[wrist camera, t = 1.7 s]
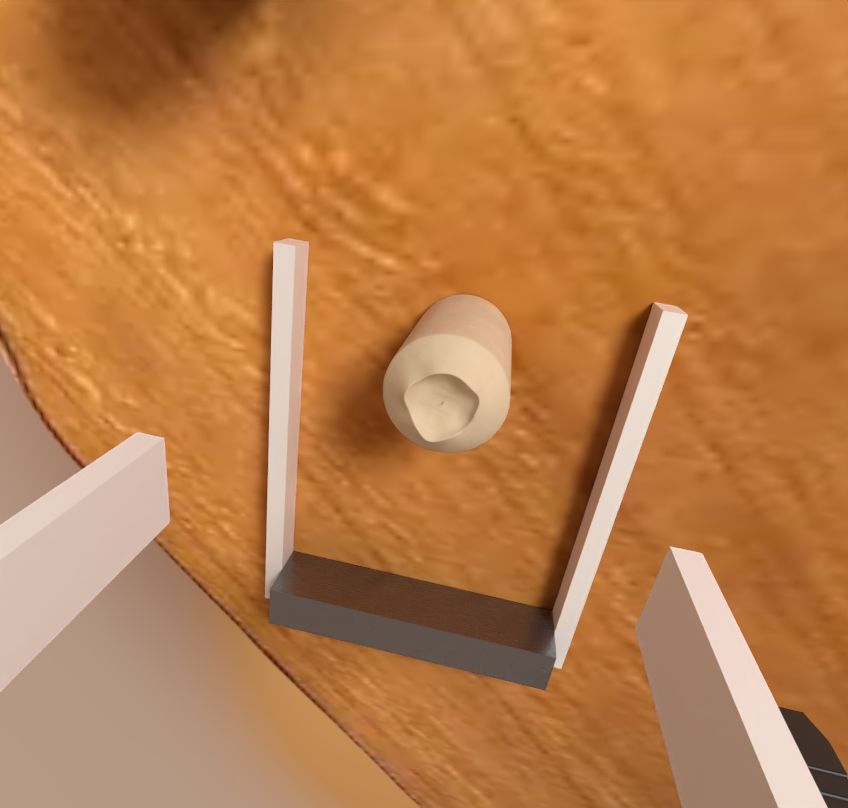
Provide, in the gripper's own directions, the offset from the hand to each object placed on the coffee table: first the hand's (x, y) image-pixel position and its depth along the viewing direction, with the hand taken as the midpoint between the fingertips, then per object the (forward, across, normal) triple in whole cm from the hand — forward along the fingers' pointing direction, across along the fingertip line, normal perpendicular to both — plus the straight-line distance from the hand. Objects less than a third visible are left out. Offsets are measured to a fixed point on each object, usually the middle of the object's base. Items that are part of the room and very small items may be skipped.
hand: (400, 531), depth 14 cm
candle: (+18, 0, 0) cm, 18 cm away
